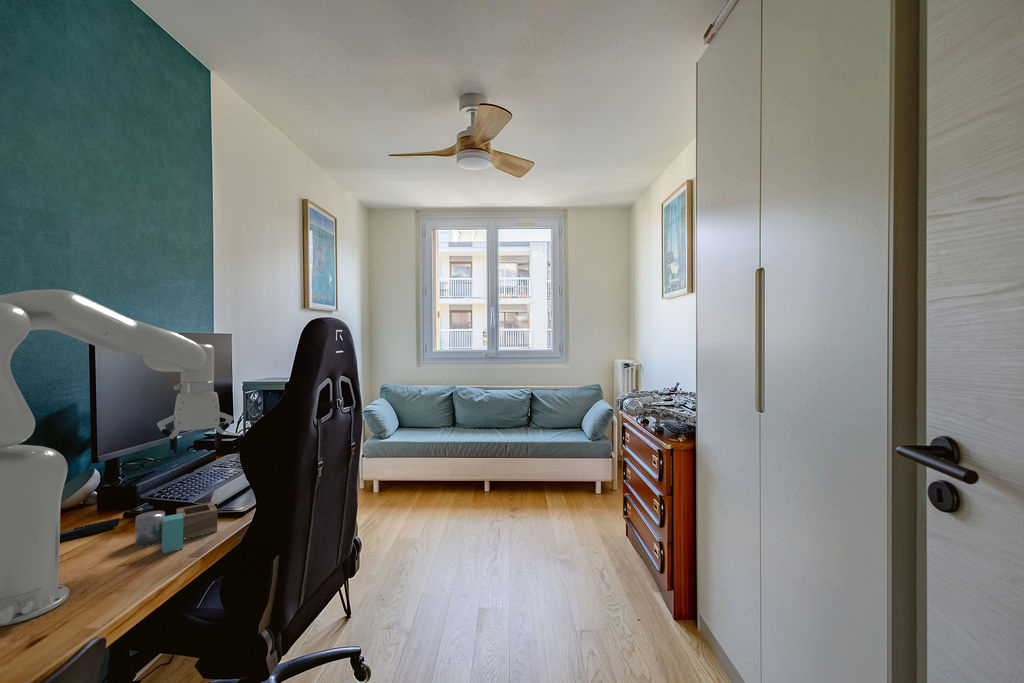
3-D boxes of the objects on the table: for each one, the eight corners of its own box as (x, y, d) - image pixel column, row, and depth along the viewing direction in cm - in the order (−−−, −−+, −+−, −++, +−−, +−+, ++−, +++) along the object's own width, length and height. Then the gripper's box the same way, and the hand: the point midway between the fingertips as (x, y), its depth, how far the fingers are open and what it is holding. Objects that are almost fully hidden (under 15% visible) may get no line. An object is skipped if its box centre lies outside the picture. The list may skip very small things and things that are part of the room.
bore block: (217, 531, 122) (217, 510, 122) (178, 540, 116) (179, 517, 116) (212, 522, 128) (212, 501, 128) (175, 530, 123) (176, 508, 123)
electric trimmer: (121, 530, 124) (121, 518, 124) (41, 549, 111) (41, 536, 112) (118, 526, 126) (118, 515, 126) (39, 544, 114) (39, 532, 114)
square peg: (182, 549, 111) (183, 517, 112) (162, 554, 109) (163, 521, 109) (181, 543, 114) (181, 513, 115) (161, 548, 112) (162, 516, 112)
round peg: (165, 542, 115) (165, 515, 116) (135, 549, 111) (135, 521, 112) (163, 534, 120) (164, 509, 120) (134, 541, 116) (135, 514, 116)
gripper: (158, 391, 113) (157, 457, 113) (236, 387, 125) (235, 447, 125) (156, 388, 119) (155, 452, 119) (231, 385, 131) (230, 443, 130)
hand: (196, 449), depth 122 cm, fingers open, 9 cm apart
